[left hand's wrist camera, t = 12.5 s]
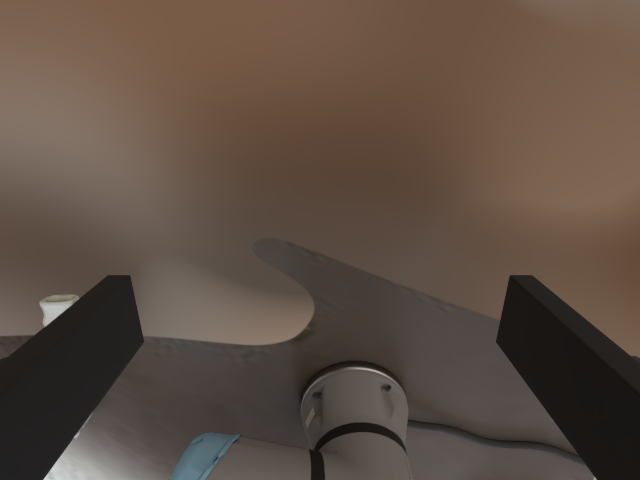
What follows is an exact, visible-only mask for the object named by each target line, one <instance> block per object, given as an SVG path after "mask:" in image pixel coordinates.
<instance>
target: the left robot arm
mask: <svg viewBox="0 0 640 480" xmlns="http://www.w3.org/2000/svg"><path fill="white" fill-rule="evenodd" d="M143 343H144V339H143V335H142V330H141V325H140V320H139V316H138V311H137V306H136V301H135V296H134V292H133V287H132V282H131V277H130V275H108V276H107V277H105V278H104V279H103V280H102V281H100V282H99V283H98V284H97V285H96V286H94V287H93V288H92V289H91V290H89V291H88V292H87V293H86V294H85V295H83V296H82V297H81V298H80V299H78V300H77V301H76V302H75V303H74V304H72V305H71V306H70V307H69V308H67V309H66V310H65V311H64V312H63V313H61V314H60V315H59V316H58V317H56V318H55V319H54V320H53V321H52V322H50V323H49V324H48V325H47V326H46V327H44V328H43V329H42V330H41V331H39V332H38V333H37V334H36V335H35V336H33V337H32V338H31V339H30V340H28V341H27V342H26V343H25V344H24V345H22V346H21V347H20V348H19V349H17V350H16V351H15V352H14V353H13V354H11V355H10V356H9V357H8V358H3V359H1V360H0V480H43V479H44V478H45V476H46V475H47V474H48V472H49V471H50V469H51V468H52V467H53V465H54V464H55V463H56V461H57V460H58V459H59V457H60V456H61V454H62V453H63V452H64V450H65V449H66V448H67V446H68V445H69V444H70V442H71V441H72V439H73V438H74V437H75V435H76V434H77V433H78V431H79V430H80V428H81V427H82V426H83V424H84V423H85V422H86V420H87V419H88V418H89V416H90V415H91V413H92V412H93V411H94V409H95V408H96V407H97V405H98V404H99V403H100V401H101V400H102V398H103V397H104V396H105V394H106V393H107V392H108V390H109V389H110V388H111V386H112V385H113V383H114V382H115V381H116V379H117V378H118V377H119V375H120V374H121V373H122V371H123V370H124V368H125V367H126V366H127V364H128V363H129V362H130V360H131V359H132V358H133V356H134V355H135V353H136V352H137V351H138V349H139V348H140V347H141V345H142V344H143ZM496 343H497V344H498V345H499V347H500V348H501V349H502V351H503V352H504V353H505V355H506V356H507V358H508V359H509V360H510V362H511V363H512V364H513V366H514V367H515V368H516V370H517V371H518V373H519V374H520V375H521V377H522V378H523V379H524V381H525V382H526V383H527V385H528V386H529V388H530V389H531V390H532V392H533V393H534V394H535V396H536V397H537V398H538V400H539V401H540V403H541V404H542V405H543V407H544V408H545V409H546V411H547V412H548V413H549V415H550V416H551V418H552V419H553V420H554V422H555V423H556V424H557V426H558V427H559V428H560V430H561V431H562V433H563V434H564V435H565V437H566V438H567V439H568V441H569V442H570V444H571V445H572V446H573V448H574V449H575V450H576V452H577V453H578V454H579V456H578V455H575V454H572V453H570V452H567V451H565V450H562V449H560V448H557V447H554V446H551V445H547V444H542V443H536V442H525V441H500V440H493V439H488V438H484V437H480V436H477V435H474V434H471V433H469V432H466V431H463V430H460V429H457V428H454V427H450V426H446V425H441V424H434V423H426V422H420V421H414V420H408V402H407V398H406V395H405V392H404V389H403V387H402V385H401V383H400V382H399V380H398V379H397V378H396V377H395V376H394V375H393V374H392V373H390V372H389V371H388V370H386V369H384V368H382V367H380V366H377V365H374V364H371V363H366V362H345V363H340V364H336V365H333V366H330V367H328V368H326V369H324V370H322V371H321V372H319V373H318V374H316V375H315V376H314V377H313V378H312V379H311V380H310V381H309V383H308V384H307V386H306V387H305V389H304V392H303V394H302V399H301V418H302V423H303V427H304V430H305V433H306V436H307V438H308V441H309V444H310V447H311V450H309V449H305V448H299V447H294V446H289V445H283V444H278V443H273V442H268V441H262V440H257V439H252V438H246V437H242V435H241V434H236V435H229V434H221V433H213V432H207V433H203V434H201V435H199V436H197V437H196V438H195V439H194V440H193V441H192V442H191V443H190V444H189V446H188V447H187V448H186V450H185V451H184V453H183V455H182V456H181V458H180V460H179V461H178V463H177V465H176V467H175V469H174V471H173V473H172V475H171V477H170V479H169V480H413V476H412V472H411V469H410V465H409V461H408V457H407V453H406V449H405V440H406V431H407V427H412V428H418V429H425V430H433V431H441V432H446V433H450V434H454V435H457V436H460V437H463V438H465V439H468V440H471V441H474V442H477V443H480V444H484V445H488V446H493V447H500V448H523V449H536V450H543V451H547V452H551V453H554V454H557V455H560V456H563V457H565V458H568V459H570V460H573V461H575V462H578V463H581V464H584V465H587V467H588V468H589V469H590V471H591V472H592V474H593V475H594V476H595V478H596V479H597V480H640V358H638V357H636V356H630V355H629V354H627V353H626V352H625V351H624V350H623V349H621V348H620V347H619V346H618V345H616V344H615V343H614V342H613V341H612V340H610V339H609V338H608V337H607V336H605V335H604V334H603V333H602V332H601V331H599V330H598V329H597V328H596V327H594V326H593V325H592V324H591V323H590V322H588V321H587V320H586V319H585V318H583V317H582V316H581V315H580V314H579V313H577V312H576V311H575V310H574V309H573V308H571V307H570V306H569V305H568V304H566V303H565V302H564V301H563V300H562V299H560V298H559V297H558V296H557V295H555V294H554V293H553V292H552V291H551V290H549V289H548V288H547V287H546V286H544V285H543V284H542V283H541V282H540V281H538V280H537V279H536V278H535V277H533V276H532V275H510V277H509V282H508V287H507V292H506V296H505V301H504V306H503V311H502V315H501V320H500V325H499V330H498V335H497V339H496Z"/></svg>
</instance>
